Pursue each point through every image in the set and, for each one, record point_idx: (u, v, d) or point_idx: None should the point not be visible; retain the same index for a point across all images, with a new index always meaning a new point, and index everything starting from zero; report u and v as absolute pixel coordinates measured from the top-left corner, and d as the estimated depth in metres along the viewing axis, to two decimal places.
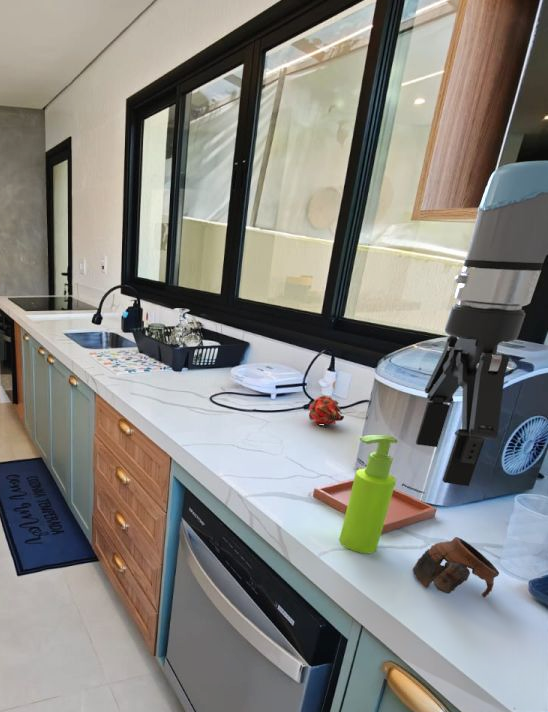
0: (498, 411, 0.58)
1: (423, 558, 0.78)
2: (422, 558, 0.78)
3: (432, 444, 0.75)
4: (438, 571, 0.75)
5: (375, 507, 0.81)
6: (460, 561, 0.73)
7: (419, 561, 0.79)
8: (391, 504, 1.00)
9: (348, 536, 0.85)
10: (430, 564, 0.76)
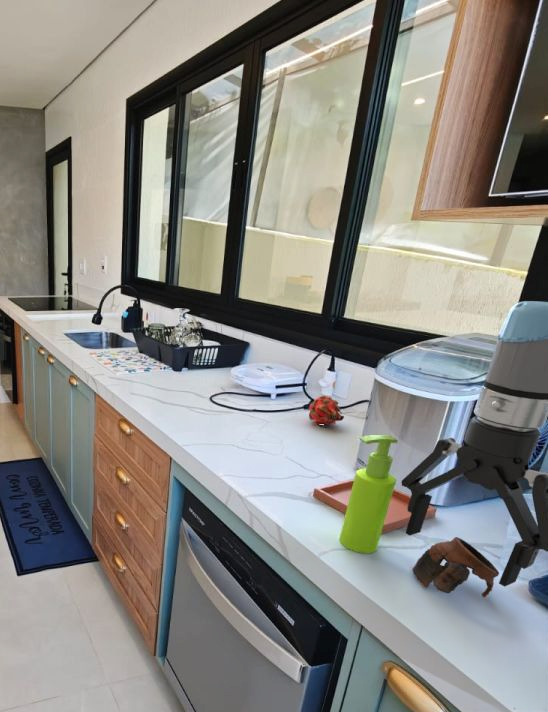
0: None
1: (423, 558, 0.78)
2: (422, 558, 0.78)
3: (418, 531, 0.80)
4: (438, 571, 0.75)
5: (375, 507, 0.81)
6: (460, 561, 0.73)
7: (419, 561, 0.79)
8: (391, 504, 1.00)
9: (348, 536, 0.85)
10: (429, 564, 0.76)
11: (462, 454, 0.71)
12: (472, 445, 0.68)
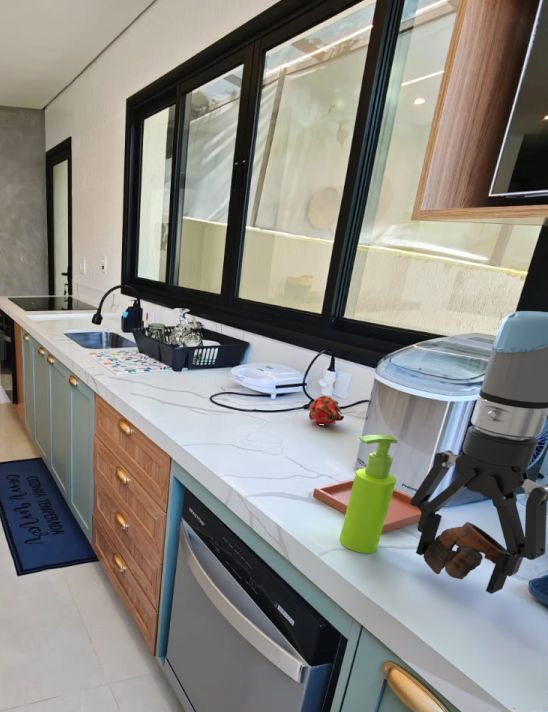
0: (545, 534, 0.66)
1: (434, 544, 0.77)
2: (433, 544, 0.77)
3: None
4: (450, 557, 0.73)
5: (375, 507, 0.81)
6: (472, 546, 0.72)
7: (430, 547, 0.77)
8: (391, 504, 1.00)
9: (348, 536, 0.85)
10: (441, 550, 0.75)
11: (461, 463, 0.72)
12: (470, 454, 0.68)
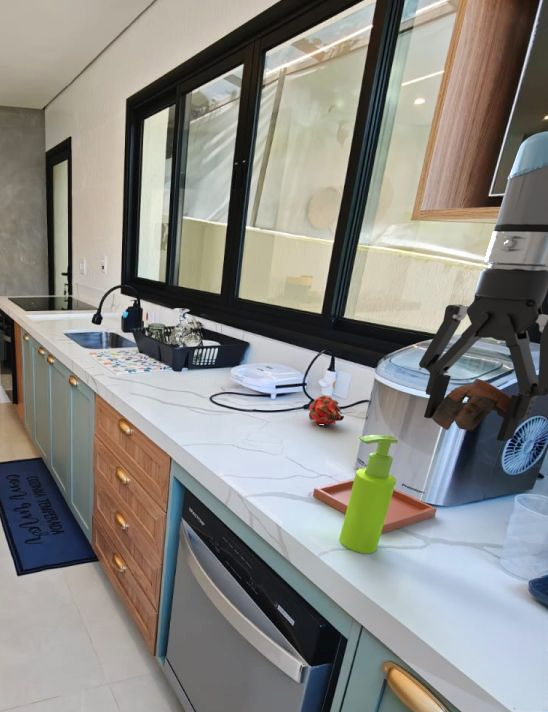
0: None
1: (443, 402, 0.75)
2: (442, 403, 0.76)
3: None
4: (461, 409, 0.72)
5: (375, 507, 0.81)
6: (483, 395, 0.71)
7: (439, 407, 0.76)
8: (391, 504, 1.00)
9: (348, 536, 0.85)
10: (451, 405, 0.73)
11: (473, 310, 0.70)
12: (484, 293, 0.67)
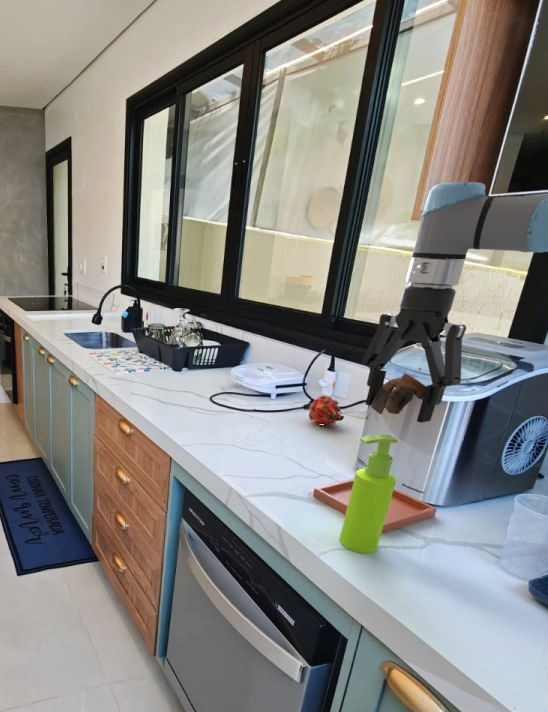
0: (460, 365, 0.83)
1: (378, 392, 0.94)
2: (378, 393, 0.94)
3: None
4: None
5: (375, 507, 0.81)
6: (407, 386, 0.89)
7: (375, 396, 0.94)
8: (391, 504, 1.00)
9: (348, 536, 0.85)
10: (383, 394, 0.92)
11: (399, 319, 0.89)
12: (404, 306, 0.85)
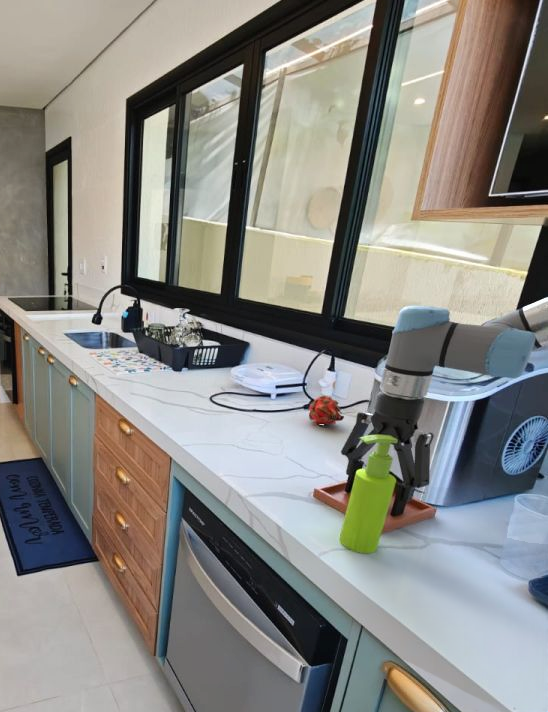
0: (429, 469, 0.90)
1: None
2: None
3: None
4: None
5: (375, 507, 0.81)
6: None
7: None
8: (391, 504, 1.00)
9: (348, 536, 0.85)
10: None
11: (374, 419, 0.96)
12: (378, 411, 0.92)
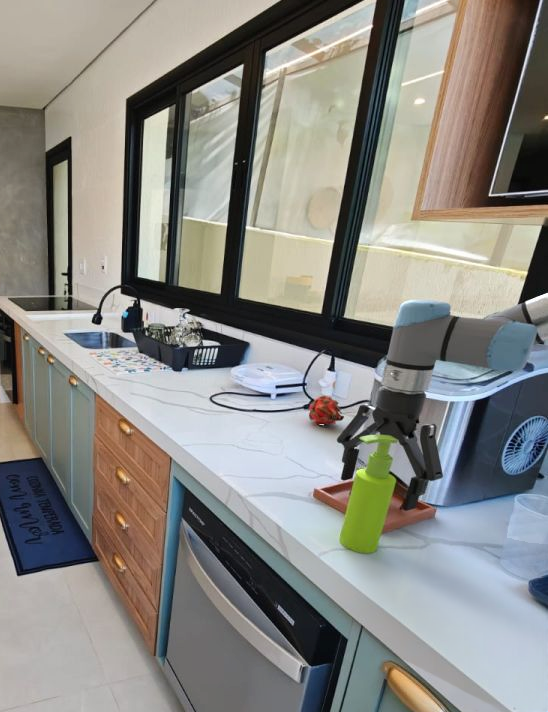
0: (439, 461, 0.88)
1: None
2: None
3: (350, 477, 1.04)
4: None
5: (375, 507, 0.81)
6: None
7: None
8: (391, 504, 1.00)
9: (348, 536, 0.85)
10: None
11: (375, 414, 0.95)
12: (379, 406, 0.92)
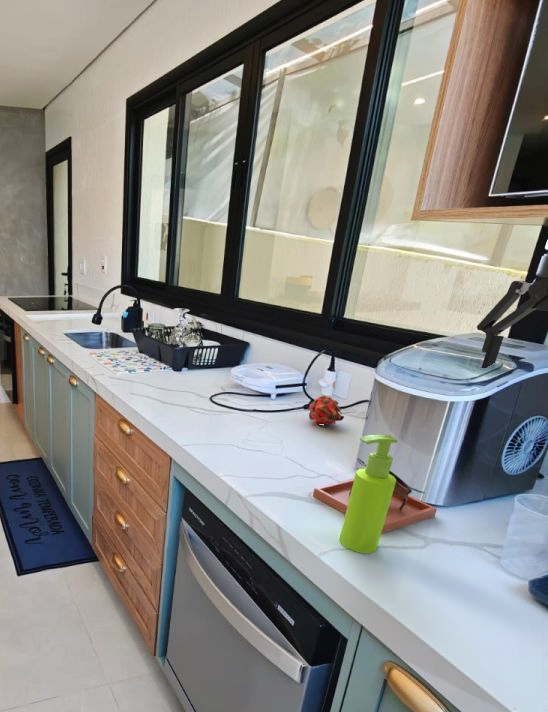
0: None
1: None
2: None
3: None
4: None
5: (375, 507, 0.81)
6: None
7: None
8: (391, 504, 1.00)
9: (348, 536, 0.85)
10: None
11: (534, 288, 0.86)
12: (545, 274, 0.83)
